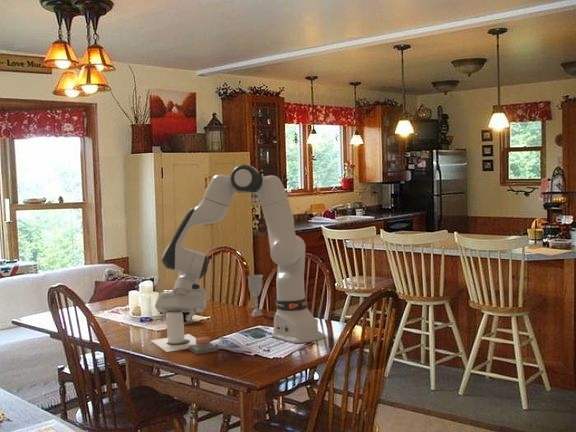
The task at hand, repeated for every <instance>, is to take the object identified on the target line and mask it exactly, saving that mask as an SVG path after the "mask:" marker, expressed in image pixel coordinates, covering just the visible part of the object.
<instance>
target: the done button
mask: <svg viewBox="0 0 576 432" xmlns="http://www.w3.org/2000/svg"><path fill="white" fill-rule="evenodd" d="M195 338H196V344H207V343H209V342H210V343H211V340H210V337H209V336H200V337H195Z"/></svg>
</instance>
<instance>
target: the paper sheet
mask: <svg viewBox="0 0 576 432" xmlns="http://www.w3.org/2000/svg"><path fill="white" fill-rule="evenodd" d="M196 338H197V337H195V336H193V335H192V334H190V333H187V334H184V339H185V340H184V342H183V343H179V344H170V343H168V337H165V338H164V337H163V338H158V339H151V340H150V342H151V343H152V344H154V345H156V346H157V347H158V348H160V349H161V350H162V351H164V352H165V353H171V352H176V351H183V350H187V349H188V350H189V346H191V345H197V344H196Z"/></svg>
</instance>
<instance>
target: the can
mask: <svg viewBox="0 0 576 432" xmlns="http://www.w3.org/2000/svg"><path fill="white" fill-rule="evenodd" d="M166 315H167V316H166V321H165V322H166V333H167V336H166V338H168V343H170V344H179V343H183V342H184V340H185V339H184V335H185V327H184V326H185V324H184V323H185V322H183V314H182V311H181V310H172V311H168V312H167V314H166Z"/></svg>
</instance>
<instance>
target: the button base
mask: <svg viewBox="0 0 576 432" xmlns="http://www.w3.org/2000/svg"><path fill="white" fill-rule="evenodd" d="M188 350H189V351H190V352H191V353H194V354H195V355H198V356H199V355H202V354H207V353H212V352H218V346H216V345H214V344H213V343H211V341H210V342H209V343H207V344H197V345H191V346H189V348H188Z"/></svg>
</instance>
